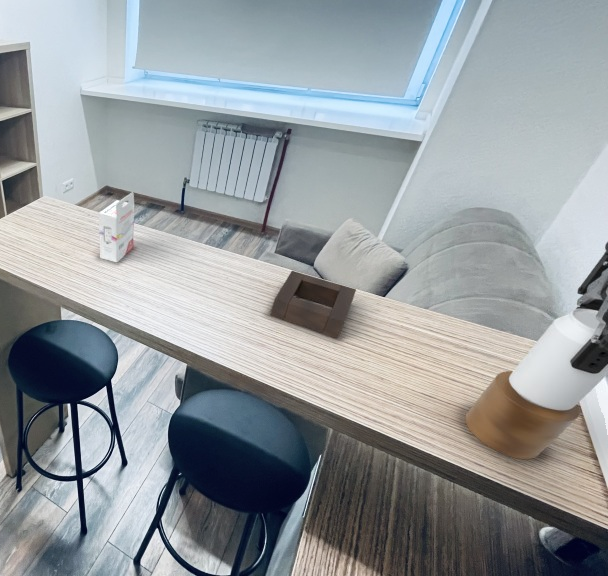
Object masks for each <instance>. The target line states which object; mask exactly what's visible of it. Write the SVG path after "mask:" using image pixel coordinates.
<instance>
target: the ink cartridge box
mask: <svg viewBox="0 0 608 576" xmlns="http://www.w3.org/2000/svg"><path fill="white" fill-rule="evenodd" d="M134 230H135V193H134V191H131V192H130V193H129V194H127V195H125V196H124V197H123V198H121V199H120V200H118V199H116V200H115V201H113V202H112V203H111V204H109V205H108V206H106V207H105V208H103V210H101V211H99V212H98V231H99V258H100V259H102V260H105V261H109V262H112V263H113V262H114V263H119V262H120V261H121V260H122V259H123V258H124V257H125V256H126V255H127V254H128V253H129V252H130V251H131V250H132V249H133V248H134V236H135V235H134V232H135V231H134Z"/></svg>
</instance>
